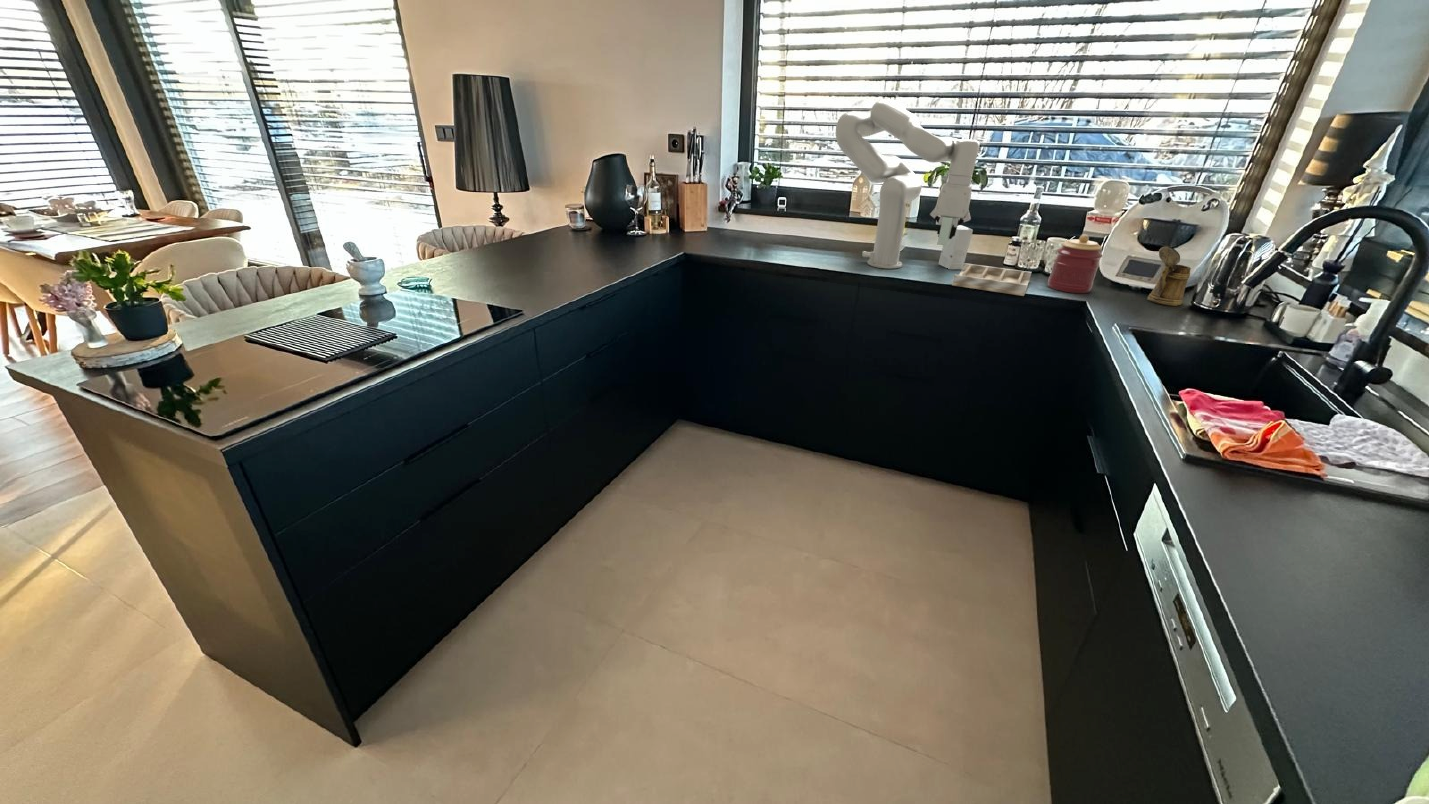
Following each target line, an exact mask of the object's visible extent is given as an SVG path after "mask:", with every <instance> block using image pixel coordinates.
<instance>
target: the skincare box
mask: <svg viewBox="0 0 1429 804" xmlns="http://www.w3.org/2000/svg"><path fill="white" fill-rule="evenodd" d="M973 231H974V230H973V229H972V228H970V227H967V226H964V225H961V224H960V225H959V226H957V229H956V233H955V236H953V238H952V239H951V242H950V243H949V244H948V245H946V246H944V245H942V248H941V252H940V256H939V261H938V265H939V266H941V267H944V268H946V269H947V268H948V270H962V268H963V264H964V263H965V262H966V258H967V254H968V250H969V246H970V242H971V238H972V236H973Z"/></svg>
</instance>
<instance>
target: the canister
mask: <svg viewBox="0 0 1429 804" xmlns="http://www.w3.org/2000/svg"><path fill="white" fill-rule="evenodd" d="M1089 239H1090V237H1089V235H1088V234H1081V235H1080V236H1079V238H1078V239H1075V238H1074V239H1068V240H1066V241H1064V242H1061V246H1062V247H1060V248H1058V249H1057V250H1056V252H1057V255H1056V258H1054V259H1053V265H1052V268H1051V271H1050V275H1049V277H1048V280H1047V286H1048V288H1051V289H1053V290H1055V291H1059V292H1060V291H1061V292H1065V293H1070V294H1071V293H1073V294H1086V293H1089V292H1090V291H1091V289H1092V288H1093V285H1094V280H1095V277H1096V276H1097V275H1096V274H1097V271H1098V269H1099V267H1100V265H1099V263H1100V262H1099V261H1100V259H1101V258H1103V254H1102V253H1101V252H1100V251H1101V250H1102V249H1103V247H1102V246H1101V245H1099V243H1098V242H1097V241H1093V240H1089Z"/></svg>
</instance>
